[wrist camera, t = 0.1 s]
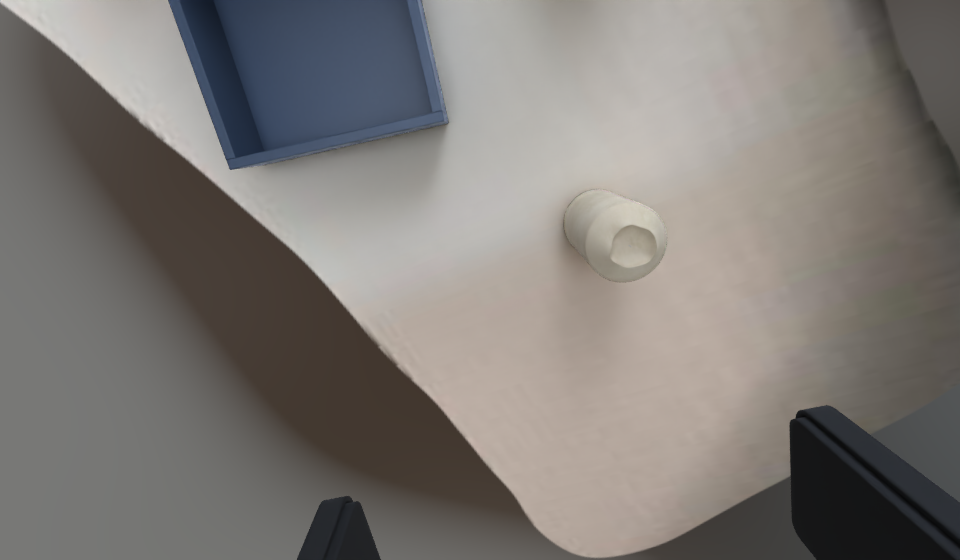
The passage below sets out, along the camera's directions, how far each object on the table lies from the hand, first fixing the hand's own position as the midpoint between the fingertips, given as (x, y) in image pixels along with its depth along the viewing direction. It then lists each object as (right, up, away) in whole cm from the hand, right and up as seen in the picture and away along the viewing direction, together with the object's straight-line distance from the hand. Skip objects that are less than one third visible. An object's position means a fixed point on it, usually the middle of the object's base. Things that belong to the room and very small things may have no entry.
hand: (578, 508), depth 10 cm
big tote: (-13, +22, +26) cm, 36 cm away
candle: (+8, +10, +30) cm, 32 cm away
